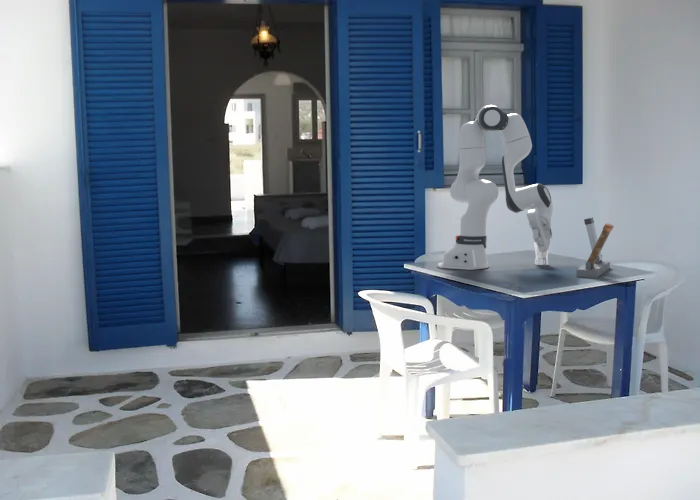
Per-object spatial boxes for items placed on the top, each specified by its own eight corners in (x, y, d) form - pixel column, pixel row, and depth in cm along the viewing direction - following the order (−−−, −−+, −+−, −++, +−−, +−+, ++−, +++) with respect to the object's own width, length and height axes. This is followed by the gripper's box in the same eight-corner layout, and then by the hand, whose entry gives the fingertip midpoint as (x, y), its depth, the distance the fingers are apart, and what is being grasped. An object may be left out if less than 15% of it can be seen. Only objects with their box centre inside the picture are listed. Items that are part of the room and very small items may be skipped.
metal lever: (594, 263, 323) (583, 219, 323) (596, 261, 328) (586, 218, 328) (600, 261, 322) (590, 218, 322) (603, 260, 326) (592, 217, 326)
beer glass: (549, 265, 336) (550, 232, 334) (533, 265, 337) (534, 232, 335) (548, 263, 343) (549, 231, 341) (533, 263, 344) (534, 230, 342)
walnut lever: (584, 266, 307) (605, 224, 302) (586, 264, 312) (607, 222, 306) (590, 269, 306) (611, 227, 300) (593, 267, 311) (613, 225, 305)
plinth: (576, 276, 306) (576, 262, 305) (591, 266, 332) (591, 253, 332) (596, 278, 302) (597, 263, 302) (609, 268, 328) (610, 254, 328)
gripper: (540, 200, 318) (536, 218, 308) (553, 239, 328) (549, 257, 317) (525, 203, 321) (521, 221, 311) (539, 241, 331) (535, 260, 320)
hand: (535, 239), depth 314 cm, fingers closed
